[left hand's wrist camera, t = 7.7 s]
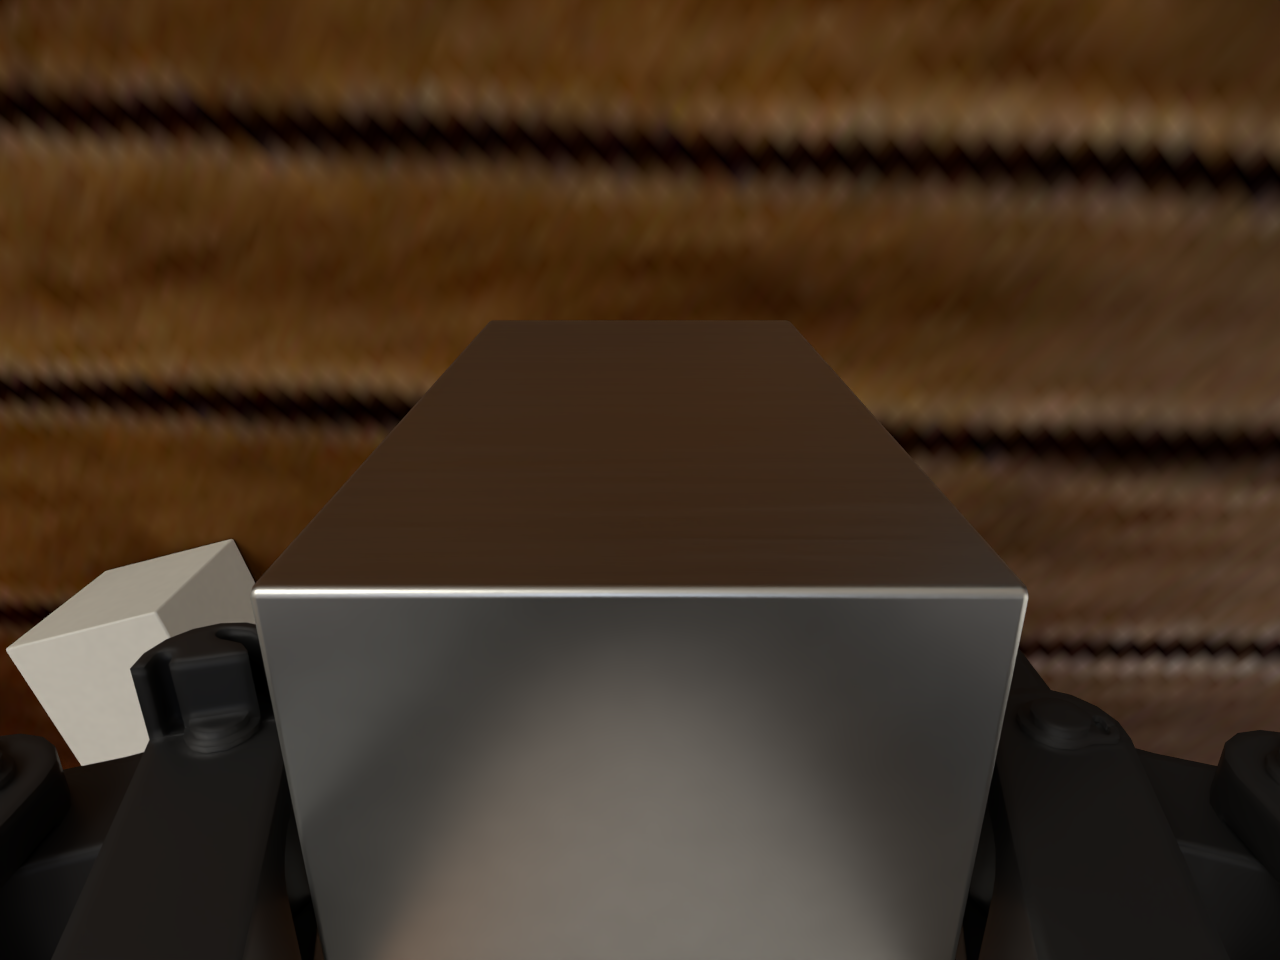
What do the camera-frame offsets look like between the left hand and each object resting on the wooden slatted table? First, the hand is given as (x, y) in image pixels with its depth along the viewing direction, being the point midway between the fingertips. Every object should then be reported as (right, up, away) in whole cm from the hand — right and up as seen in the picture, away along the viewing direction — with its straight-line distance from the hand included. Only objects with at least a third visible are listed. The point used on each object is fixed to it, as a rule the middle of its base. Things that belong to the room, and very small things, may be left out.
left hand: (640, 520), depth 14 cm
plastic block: (-16, -4, +15) cm, 23 cm away
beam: (0, -9, +4) cm, 10 cm away
